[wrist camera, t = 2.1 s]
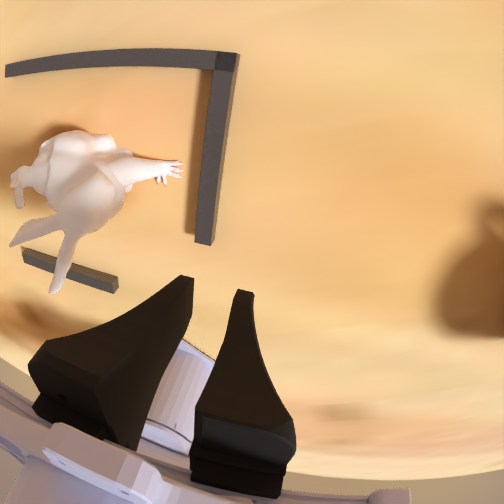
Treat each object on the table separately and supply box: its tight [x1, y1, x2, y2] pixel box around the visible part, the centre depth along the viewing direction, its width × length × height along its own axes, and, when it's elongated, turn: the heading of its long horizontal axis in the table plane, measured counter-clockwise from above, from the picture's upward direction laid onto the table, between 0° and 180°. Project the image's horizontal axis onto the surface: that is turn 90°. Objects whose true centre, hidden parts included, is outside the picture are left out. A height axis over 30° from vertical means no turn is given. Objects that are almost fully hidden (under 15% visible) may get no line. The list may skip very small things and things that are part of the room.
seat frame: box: [5, 49, 240, 294], centre depth 22 cm, size 20×21×1 cm
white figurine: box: [9, 130, 183, 294], centre depth 19 cm, size 12×8×10 cm, turn 66°
